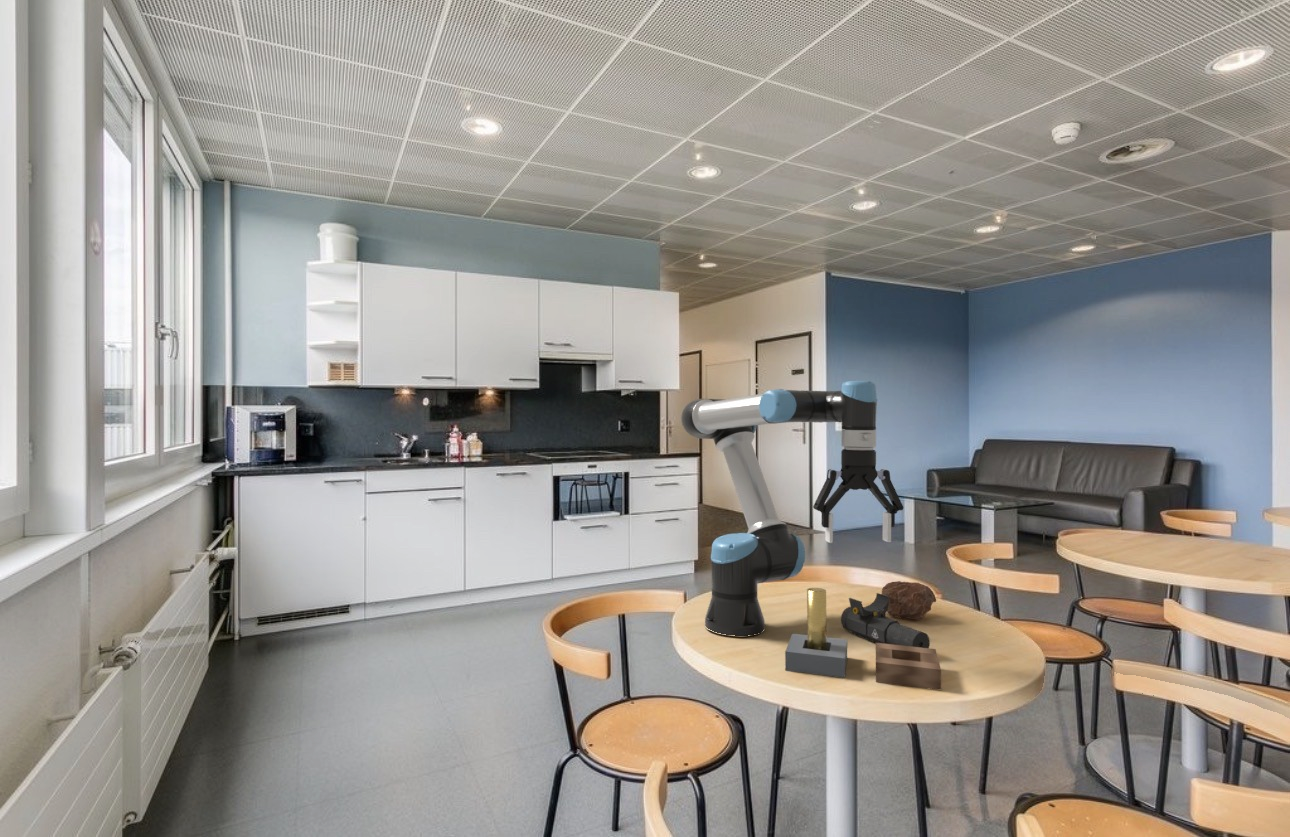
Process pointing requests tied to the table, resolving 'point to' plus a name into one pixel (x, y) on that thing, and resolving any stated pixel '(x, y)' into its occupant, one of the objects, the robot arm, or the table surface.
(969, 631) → the table surface
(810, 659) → the mount block
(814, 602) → the brass pin
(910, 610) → the brown lumpy rounded lump
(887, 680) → the dock block
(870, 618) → the laser sight
